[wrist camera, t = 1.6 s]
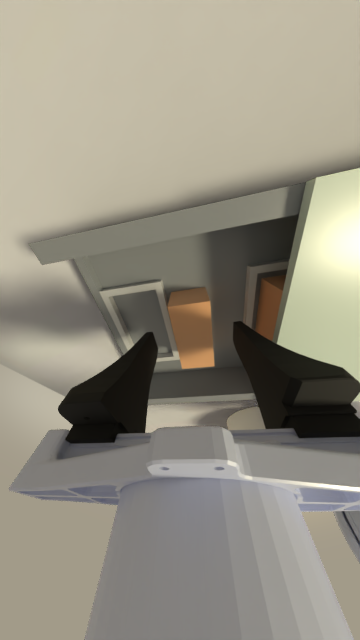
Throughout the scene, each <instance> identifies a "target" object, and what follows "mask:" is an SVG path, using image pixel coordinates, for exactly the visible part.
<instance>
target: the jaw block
mask: <svg viewBox="0 0 360 640" xmlns="http://www.w3.org/2000/svg"><path fill="white" fill-rule="evenodd" d="M167 308H168V312H169V316H170V320H171V324H172V329H173V333H174V337H175V341H176V345H177V349H178V353H179V358H180V362H181V366H182V369H189V368H201V367H213V366H214V351H213V336H212V321H211V305H210V299H209V296H208V293H207V290H206V288H205V287H201V288H195V289H188V290H182V291H175V292H171V295H170V299H169V303H168V306H167Z"/></svg>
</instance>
